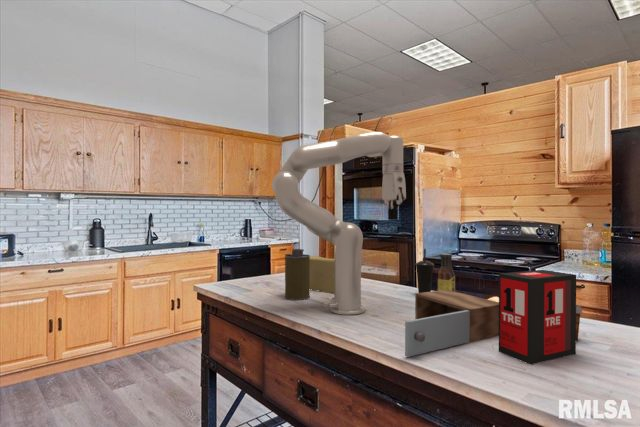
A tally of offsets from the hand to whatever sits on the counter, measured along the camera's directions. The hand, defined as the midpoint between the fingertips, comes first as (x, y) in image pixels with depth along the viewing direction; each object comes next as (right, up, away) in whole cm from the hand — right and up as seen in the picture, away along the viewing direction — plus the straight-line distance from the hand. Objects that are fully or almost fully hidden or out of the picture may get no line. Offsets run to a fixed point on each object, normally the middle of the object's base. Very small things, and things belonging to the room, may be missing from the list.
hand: (393, 219), depth 138 cm
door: (+4, -32, -42) cm, 54 cm away
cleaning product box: (+28, -33, -43) cm, 61 cm away
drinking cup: (+17, -33, +21) cm, 43 cm away
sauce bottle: (+20, -33, +2) cm, 39 cm away
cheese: (-24, -33, +29) cm, 50 cm away
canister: (-37, -33, +17) cm, 52 cm away
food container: (+41, -33, -30) cm, 61 cm away
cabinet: (+15, -33, -23) cm, 43 cm away
